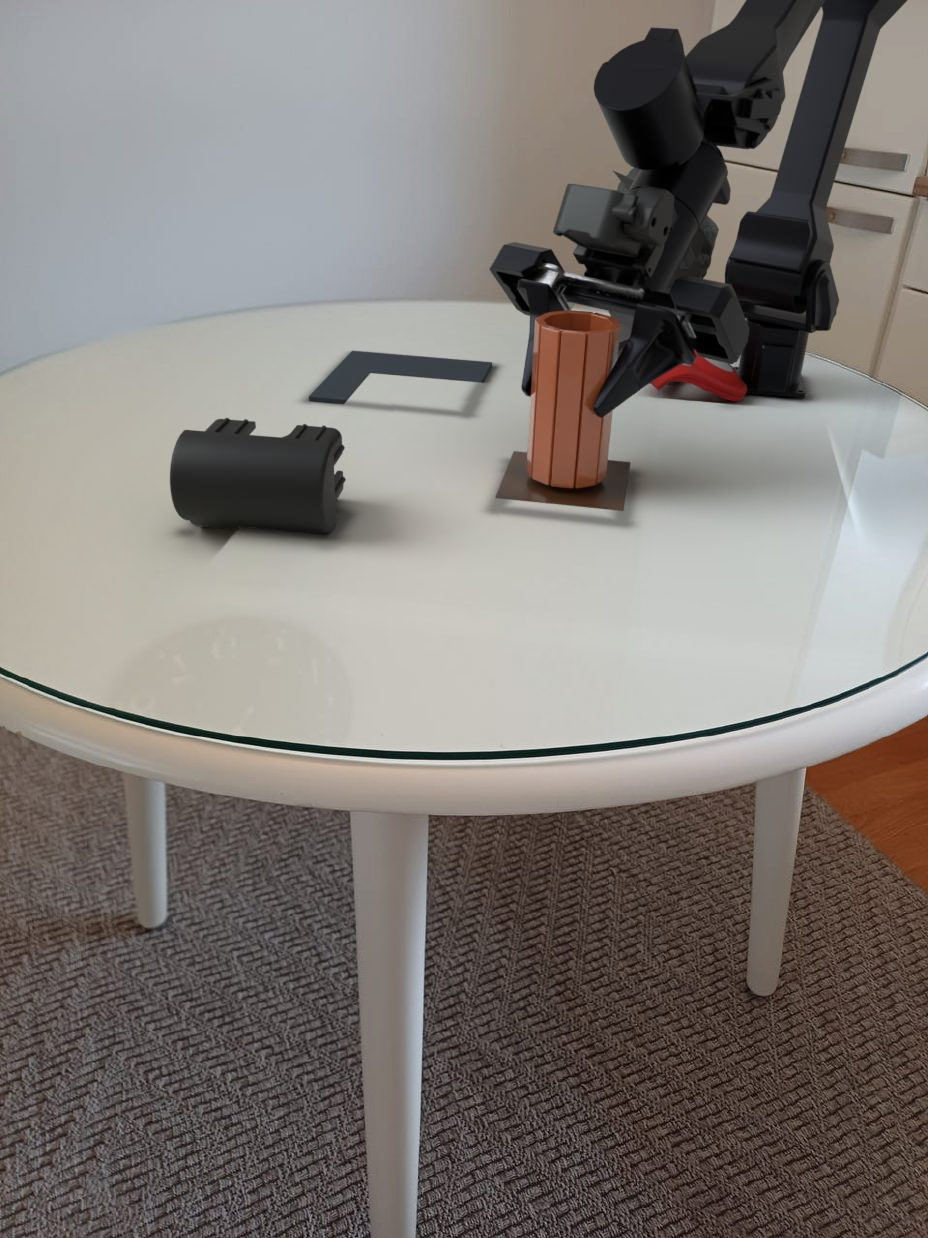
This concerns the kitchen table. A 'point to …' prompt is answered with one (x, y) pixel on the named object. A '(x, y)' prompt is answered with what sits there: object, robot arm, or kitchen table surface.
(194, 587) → the kitchen table surface
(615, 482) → the ring holder
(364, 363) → the flat corner bracket
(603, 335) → the orange tube
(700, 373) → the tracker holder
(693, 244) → the grey angular chunk
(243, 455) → the end cap
